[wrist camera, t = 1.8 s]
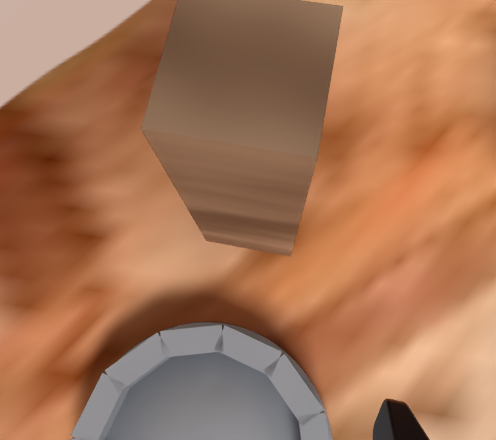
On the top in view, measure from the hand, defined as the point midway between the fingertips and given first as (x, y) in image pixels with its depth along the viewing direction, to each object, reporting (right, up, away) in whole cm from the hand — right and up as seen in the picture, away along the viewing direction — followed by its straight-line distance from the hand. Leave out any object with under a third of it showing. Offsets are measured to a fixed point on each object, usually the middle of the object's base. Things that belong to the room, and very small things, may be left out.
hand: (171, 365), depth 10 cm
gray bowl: (0, -8, +12) cm, 14 cm away
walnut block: (+2, +4, +15) cm, 16 cm away
